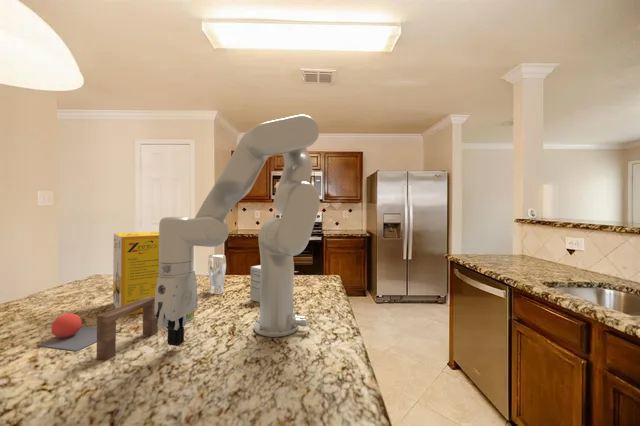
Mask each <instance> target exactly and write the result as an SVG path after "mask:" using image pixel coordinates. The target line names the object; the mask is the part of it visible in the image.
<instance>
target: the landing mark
mask: <svg viewBox="0 0 640 426" xmlns="http://www.w3.org/2000/svg"><path fill="white" fill-rule="evenodd" d="M120 332H121V329H116V334H117V333H120ZM94 344H97V326H89V325H84V326H81V328H80V330H79V331H78V332H77V333H76V334H74V335H73V336H71V337H67V338H59V337H56V336H55V337H53V338H51V339H49V340H46V341H44V342H43V341H42V342H41V343H38V344H37V345H36V346H37V347H42V346H43V348H50V349H57V350H63V351H64V350H65V351H70V352H71V351H72V352H78V351H81V350H83V349H85V348H88V347H89V346H92V345H94Z"/></svg>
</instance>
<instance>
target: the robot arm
mask: <svg viewBox="0 0 640 426" xmlns="http://www.w3.org/2000/svg"><path fill="white" fill-rule="evenodd" d="M319 135H320V128H319V124H318V122H316V120H315V119H314V118H312V117H311V116H309V115H306V114H298V115H293V116H289V117H285V118H284V117H283V118H279V119H275V120H270V121H266V122H262V123H259V124H256V125H255V126H253V127H252V128H250V129H248V130H247V131H246V132H245V133H244V134H243V135H242V137H241V139H240V140H239V142H238V144H237V145H236V147H235V149H234V151H233V153H232V155H231V156H230V158H229V160H228V162H227V163H226V165H225V167H224V168H223V170H222V172H221V174H220V175H219V177H218V178H217V180H216V181H215V183H214V186H212V189H211V190H210V192H208V195H207V196H206V197H205V199H204V201H203V203H202V204H201V206H200V208H199V209H198V211H197V213H196V214H195V217H193V218H191V217H187V216H166V217H163V218H161V219H160V221H159V223H158V232H159V269H158V272H159V277H158V279H157V285H156V291H155V303H154V313H155V318H156V319H158V324H157V326H158V328H165V329H166V330H167V345H169V346H173V347H174V346H175V347H179V346H182V345H183V344H184V342H185V326H186V324H187V321H186V318H187V316H188V315H189V314H190V313H191V312H192V311H194V312H195V310H196V309H197V308H198V303H199V301H198V300H199V299H198V296H199V295H198V293H199V292H198V283H197V276H196V272H195V270H194V269H195V268H194V265H195V264H194V263H195V262H194V261H195V260H194V259H195V258H194V256H195V254H194V253H195V252H194V251H195V248H194V247H206V248H208V247H209V248H214V247H218V246H221V245H222V244H224V242H226V241H227V239H228V237H229V233H230V229H229V226H228V224H227V223H226V219H227V218H228V216H229V213H230V212H231V210H232V209H233V208H234V207H235V205H236V204H238V202H240V201H242V199H243V198H245V197H246V196H247V195H248V194H249V193H250V191H251V190H252V188H253V187H254V185H255V183H256V181H257V179H258V177H259V175H260V173H261V171H262V169H263V167H264V166H265V163H266V162H267V160H268V158H271V157H273V156H277V155H282V157H283V160H284V161H283V162H284V165H283V169H282V174H281V176H280V179H279V182H278V185H277V187H276V191H275V194H274V197H273V207H274V209H275V210H276V211H277V212H278V213H279V214H281V218H278V217H277V218H271V219H269V220H266V221H265V222H264V223H263V224H262V226H261V227H260V229H259V232H258V247H259V257H260V265H261V274H260V303H259V320H257V321H256V322H255V323H254V325H253V330H254V332H255V333H256V334H258V335H260V336H263V337H268V338H278V337H279V338H280V337H285V336H289V335H291V334H294V333H295V332H296V331H298V329H299V326H300V327H307V326H308V319H307V318H306V316H300V315H299V316H298V315H297V310H294V283H295V282H294V281H295V279H294V278H295V265H294V264H295V263H294V256H295V257H296V256H298V255H300V254H301V253H302V252H304V250H305V249H306V247H307V246H308V244H309V241H310V240H311V235H312V232H313V229H314V226H315V223H316V219H317V216H318V213H319V209H320V204H321V203H320V202H321V200H320V194H319V193H320V192H319V191H318V189H317V188H316V187H315V185H314V184H312V183H310V181H311V179H312V178H311V177H312V173H313V161H312V158H311V155H310V153H309V151H308V149H307V148H308V147H311V146H312V145H314V144H315V143H316V142H317V140H318V138H319V137H320V136H319Z"/></svg>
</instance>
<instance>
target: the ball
mask: <svg viewBox="0 0 640 426" xmlns="http://www.w3.org/2000/svg"><path fill="white" fill-rule="evenodd" d="M82 321H83V320H82V318H81V317H80V316H79V315H77V314H75V313H64V314H62V315H60V316H58V317H57V318H56V319H54V321H53V322H52V323H51V333H52V334H53V336H55V338H56V337H59V338H67V337H71V336H73V335H74V334H76V333H77V332H78V331H79V330H80V328H82V323H83V322H82Z"/></svg>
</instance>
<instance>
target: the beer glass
mask: <svg viewBox="0 0 640 426" xmlns="http://www.w3.org/2000/svg"><path fill="white" fill-rule="evenodd" d="M226 270H227V258H226V255H225V254H221V253H220V254H219V253H218V254H210V255H208V262H207V272H208V273H207V274H208V278H209V290H208V294H210V295H220V294H224V293H225V291H226V289H225V285H224V284H225V277H226V276H225V275H226Z"/></svg>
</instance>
